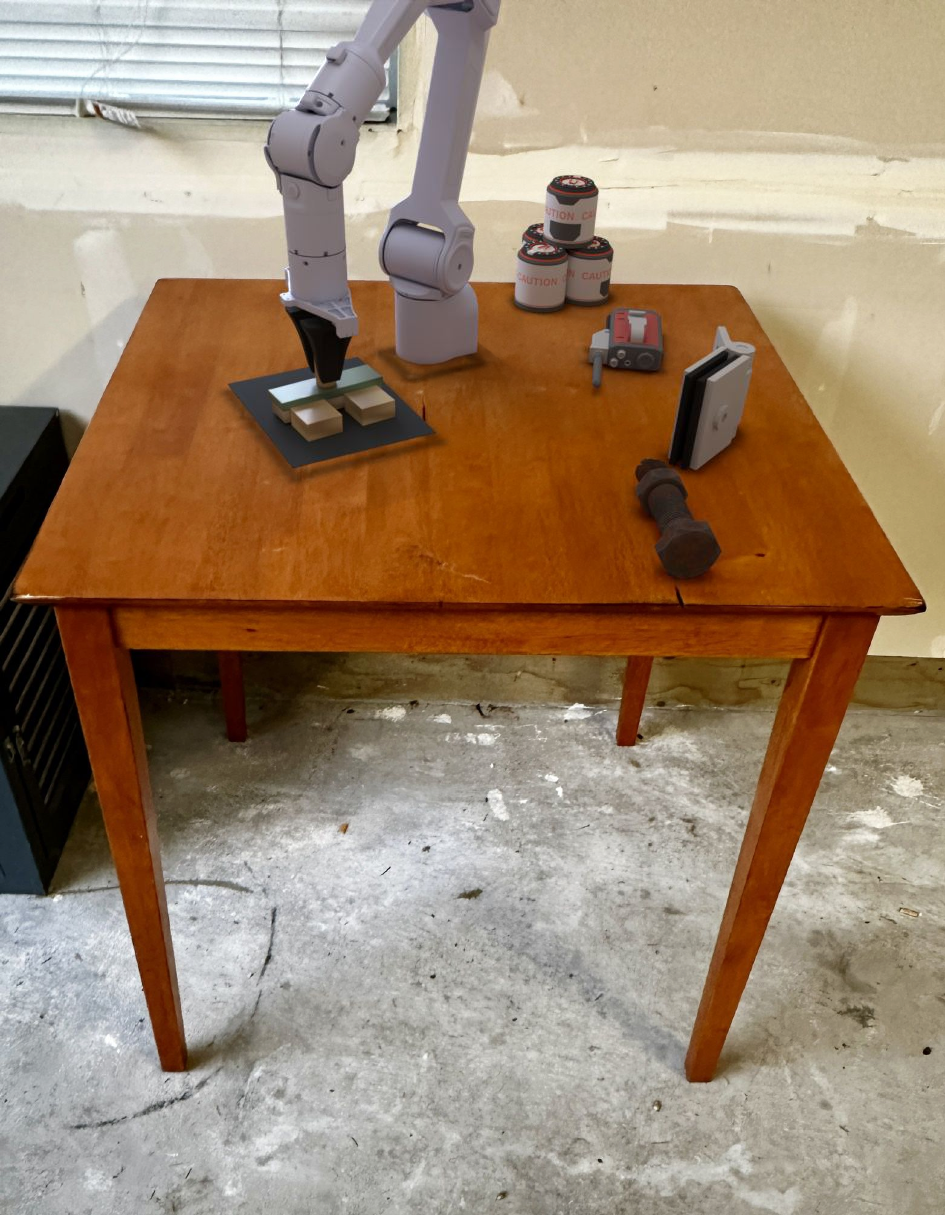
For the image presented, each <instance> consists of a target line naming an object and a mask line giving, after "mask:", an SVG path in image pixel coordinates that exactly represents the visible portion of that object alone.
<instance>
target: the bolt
mask: <svg viewBox="0 0 945 1215" xmlns="http://www.w3.org/2000/svg"><path fill="white" fill-rule="evenodd" d="M639 463H640V464H638V465H637V466H636V467H635V471H634V474H635V475H634V476H635V478H636V480H637V485H636V487H635V488H634V492H635V494H636V497H637V500H638V501H639V503H640V505H641V508H642V509H643V510H644V512H645V515H646V516H650V517H653V518H654V520H655V524H656V526H657V529H658V530H659V533H660V535H661V537H660V538H659V539H658V541H656V543H655V544H654V545H653V548H654V550H655V552H656V554H657V556H658V558H659V560H660V562H661V564H662V566H663V568H664V570H665V572H666V574H667V575H668V577H671V578H677V579H692V578H696V577H699V576H702V575H704V574H705V573H707V572H708V571H709V570H710V569H711V568H712V567H713V566H714V565H715V564H716V563H717V561H718V560H719V557H720V556H721V553H722V548H721V545H720V544H719V542H718V539H717V537H716V535H715V533H714V531H713V530H712V527H711V526H710V523H709V522H708V520H695V519H694V517H693V514H692V512H691V510H690V508H689V506H688V504H687V502H686V500H687V498H688V496H689V493H688V491H687V489H686V487H685V484H684V483H683V480H682V478H681V476H680V474H679V472H678V470H677V469H675V468H669V467H668V464H667V463H666V462H665V461H663V460H661V459H656V458H651V457H650V458H647V457H645V458H644V459H642V460H641V461H640V462H639Z"/></svg>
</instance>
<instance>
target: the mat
mask: <svg viewBox="0 0 945 1215" xmlns="http://www.w3.org/2000/svg"><path fill="white" fill-rule="evenodd" d="M363 365H367V364H366V363H365V362H364V361H363V360H362V359H361V358H360V357H359V356H355V357H350V358H345V360H344V365H343V371H344V370H348V369H352V368H355V367H359V366H363ZM313 378H315V373H312V372H311V370H310V368H309V366H307V367H302V368H297V369H292V370H291V369H290V370H287V371H283V372H278V373H272V374H268V375H263V376H258V377H253V378H249V379H243V380H239V381H233V382H228V383H227V386H228V387H229V388H230V390H231V391H232V392H233V394H234V395H235V396H236V398H238V400H239V401H240V402H241V403H242V405H243V406H244V407H245V409H246V410H247V411H248V413H249V414H250V415H251V416H252V418H253V419H254V420H255V421H256V423H257V424H258V426H259V428H261V429H262V430H263V432H264V433H265V434H266V435H267V437H268V439H270V441H271V442H272V443H273V445H274V446H275V447H276V448H277V450H278V451H279V453H280V454H281V455H282V456H283V458H284V459H285V460H286V461H287V463H288V464H289V465H290V467H291V468H292V469H296V468H301V467H305V466H308V465H313V464H316V463H320V462H325V461H328V460H333V459H336V458H340V457H345V456H349V455H353V454H356V453H360V452H365V451H367V450H372V449H376V448H377V449H378V448H380V447H381V448H382V447H385V446H389V445H392V444H397V443H401V442H404V441H408V440H413V439H416V438H420V437H424V436H429V435H433V434H436V433H437V432H436V431H435V430H434V429H433V428H432V427H431V426H430V425H429V424H428V423H427V421H425V420H424V419H423V418H422V417H421V416H420V415H419V414H418V413H417V412H415V410H414V409H412V407H410V405H408V404H407V402H406V401H404V400H403V399H402V397H400V396H399V394H397V393H396V392H395V391H394V390H393V389H392V388H391V387H390V386H389V385H388V384H387V383H386V382H385V381H383V385H381V389H382V390H383V391H384V392H386V393H387V394H388V395H389V396H390V397H392V398H393V399H394V400H395V417H392V418H389V419H385V420H382V421H378V422H375V423H371V424H368V425H365V426H362V425H361V424H360V423H359V422H358V421H357V420H355V419H354V418H353V417H352V416H351V415H350V414H349V413H347V412H346V411H345V407H343V408H340V409H336V410H337V411H338V412H339V413H340V414H341V415H342V425H343V432H341V433H337V434H334V435H330V436H327V437H323V438H320V439H316V440H313V441H309V442H308V441H307V440H306V439H305V438H304V437H303V436H302V435H301V434H300V433H299V432H298V431H297V430H296V429H295V428H294V427H293V426H292V425H291V422H289V423H284V422H283V421H282V420H281V419H280V418H279V417H278V416H277V415H276V414H275V413H274V412H273V410H272V401H271V400H270V399H269V395H268V390H271V389H274V388H278V387H282V386H286V385H290V384H294V383H298V382H301V381H305V380H309V379H313Z"/></svg>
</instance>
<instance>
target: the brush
mask: <svg viewBox="0 0 945 1215" xmlns="http://www.w3.org/2000/svg"><path fill="white" fill-rule="evenodd" d="M314 366H315V378H313V379H309V380H305V381H301V382H298V383H294V384H290V385H286V386H282V387H278V388H274V389H271V390H268V395H269V399H270V400H271V401H272V410H273V412H274V413H275V414H276V415H277V416H278V417H279V418H280V419H281V420H282V421H283V422H284V423H289V422H291V414H290V408H293V407H296V406H300V405H304V404H308V403H311V402H315V401H319V400H323V399H325V400H326V401H327V402H328V403H329V404H330V405H331V406H332V407H334V408H335V409H340V408H343V407H345V402H344V394H345V393H349V392H352V391H356V390H360V389H364V388H367V387H371V386H375V385H377V386H378V387H379V388H381V385H383V382H384V376H382V375H381V373H380V372H378V371H376V370H375V369H374V368H373V367H371V366H370V365H369V364H366V365H363V366H359V367H355V368H352V369H348V370H344V371H342V375H341V379H340V380H339V381H335V382H330V383H325V384H323V383H322V382H321V381H320V379H319V376H318V373H317V369H316V364H315V359H314Z"/></svg>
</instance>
